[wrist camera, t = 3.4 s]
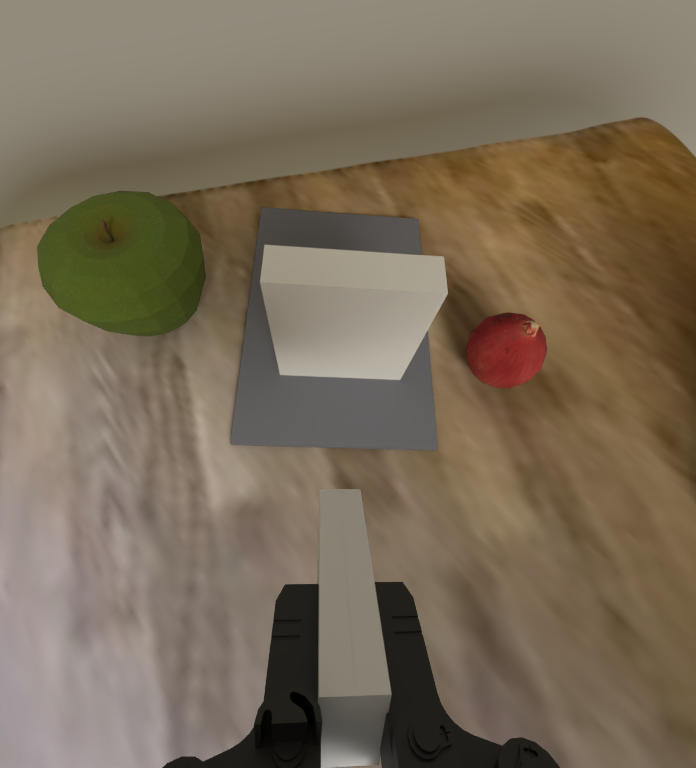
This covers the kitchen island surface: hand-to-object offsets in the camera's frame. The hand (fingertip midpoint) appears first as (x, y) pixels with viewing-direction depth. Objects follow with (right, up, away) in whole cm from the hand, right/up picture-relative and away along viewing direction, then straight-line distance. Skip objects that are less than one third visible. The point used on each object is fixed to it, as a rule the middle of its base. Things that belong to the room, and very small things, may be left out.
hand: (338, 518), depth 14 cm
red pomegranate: (+12, +6, +19) cm, 23 cm away
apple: (-16, +12, +18) cm, 27 cm away
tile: (0, +7, +17) cm, 18 cm away
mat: (-1, +11, +19) cm, 22 cm away
